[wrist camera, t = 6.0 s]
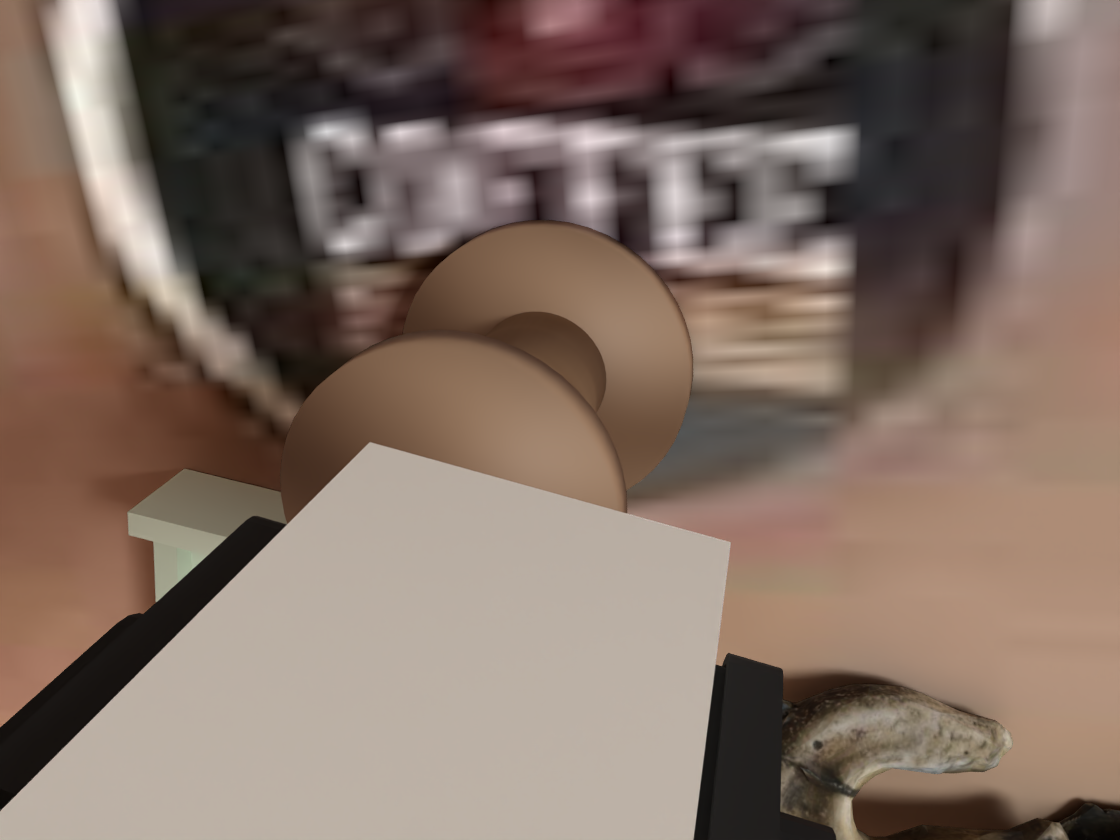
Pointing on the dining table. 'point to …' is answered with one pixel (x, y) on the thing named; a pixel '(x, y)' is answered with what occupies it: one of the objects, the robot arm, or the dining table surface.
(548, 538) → the white grey rectangular block
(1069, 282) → the dining table surface
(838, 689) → the pulley block
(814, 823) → the robot arm
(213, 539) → the open tray
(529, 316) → the knob
